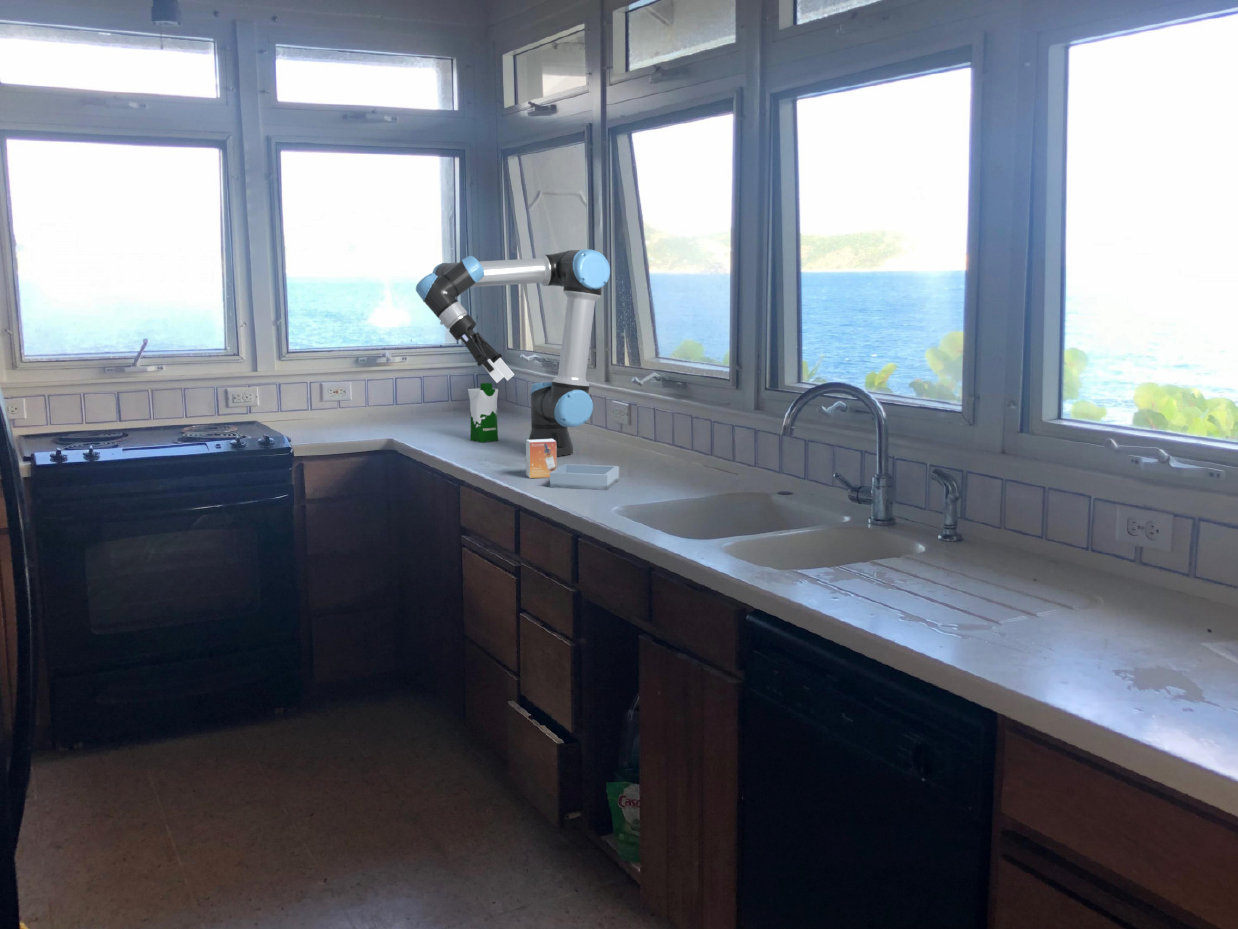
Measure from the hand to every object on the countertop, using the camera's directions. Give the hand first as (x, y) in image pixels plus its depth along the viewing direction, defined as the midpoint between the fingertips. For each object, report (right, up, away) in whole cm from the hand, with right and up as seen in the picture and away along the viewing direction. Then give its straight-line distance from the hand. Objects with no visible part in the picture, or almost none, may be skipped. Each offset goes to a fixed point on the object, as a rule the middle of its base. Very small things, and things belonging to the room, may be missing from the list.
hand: (506, 378), depth 309 cm
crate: (+23, -30, -11) cm, 39 cm away
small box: (+10, -28, 0) cm, 30 cm away
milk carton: (-15, -16, +66) cm, 69 cm away
